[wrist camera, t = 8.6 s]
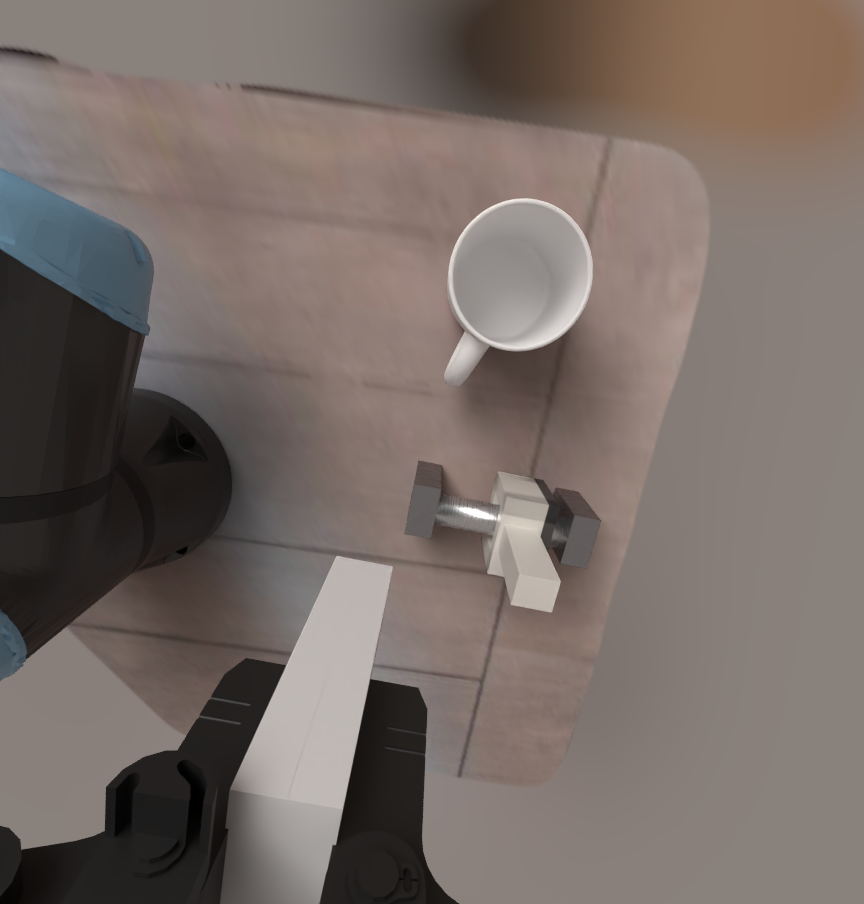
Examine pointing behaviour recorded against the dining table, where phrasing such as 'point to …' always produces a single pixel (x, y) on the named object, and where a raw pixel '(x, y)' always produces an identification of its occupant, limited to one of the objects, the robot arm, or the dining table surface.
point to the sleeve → (523, 541)
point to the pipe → (477, 516)
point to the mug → (516, 281)
